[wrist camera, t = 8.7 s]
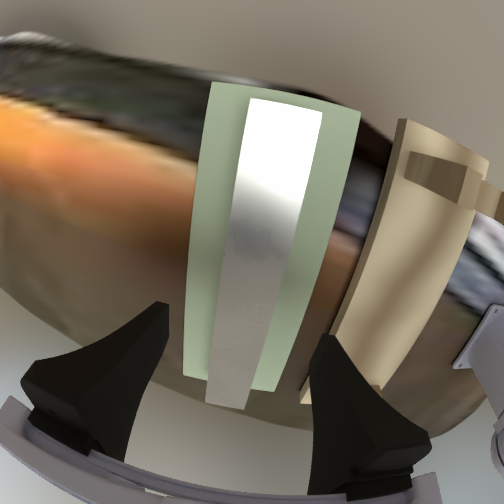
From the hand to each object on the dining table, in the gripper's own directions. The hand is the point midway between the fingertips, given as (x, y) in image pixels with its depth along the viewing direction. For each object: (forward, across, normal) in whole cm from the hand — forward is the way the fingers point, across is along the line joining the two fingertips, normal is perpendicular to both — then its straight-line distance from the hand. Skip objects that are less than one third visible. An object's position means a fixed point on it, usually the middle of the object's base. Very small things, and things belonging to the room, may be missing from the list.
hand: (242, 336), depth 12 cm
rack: (+6, -10, 0) cm, 12 cm away
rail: (+5, 0, 0) cm, 5 cm away
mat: (+6, 0, 0) cm, 6 cm away
